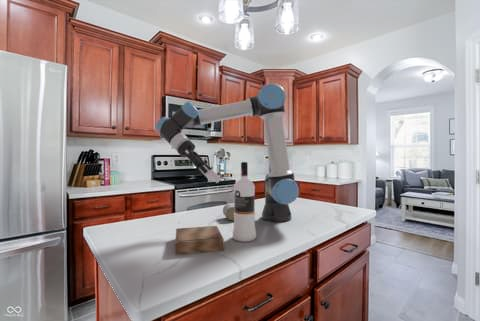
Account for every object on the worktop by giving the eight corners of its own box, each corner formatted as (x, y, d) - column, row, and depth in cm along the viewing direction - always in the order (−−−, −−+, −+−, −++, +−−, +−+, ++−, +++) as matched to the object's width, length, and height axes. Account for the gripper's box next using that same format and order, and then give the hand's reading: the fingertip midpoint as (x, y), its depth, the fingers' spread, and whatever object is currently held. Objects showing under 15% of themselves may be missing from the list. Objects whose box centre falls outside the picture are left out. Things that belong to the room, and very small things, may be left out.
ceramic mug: (225, 221, 120) (226, 206, 120) (222, 217, 128) (222, 203, 128) (246, 220, 123) (246, 205, 123) (242, 216, 131) (242, 202, 130)
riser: (216, 235, 99) (216, 225, 99) (223, 250, 84) (223, 238, 84) (176, 238, 96) (176, 228, 95) (175, 255, 80) (175, 242, 80)
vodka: (261, 239, 95) (261, 162, 94) (241, 244, 89) (241, 162, 89) (246, 233, 102) (246, 161, 102) (228, 237, 97) (227, 162, 96)
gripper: (186, 156, 119) (215, 187, 115) (165, 145, 95) (202, 184, 91) (197, 145, 119) (227, 176, 115) (179, 131, 95) (216, 170, 91)
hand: (216, 179), depth 103 cm, fingers open, 13 cm apart
